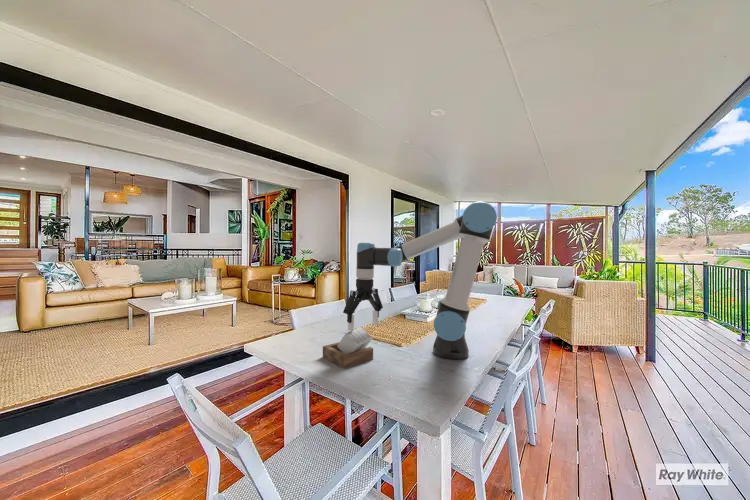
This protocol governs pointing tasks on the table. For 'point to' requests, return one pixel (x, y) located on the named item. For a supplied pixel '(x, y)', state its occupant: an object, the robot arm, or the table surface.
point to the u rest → (346, 355)
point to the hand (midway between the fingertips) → (363, 327)
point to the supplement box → (354, 341)
